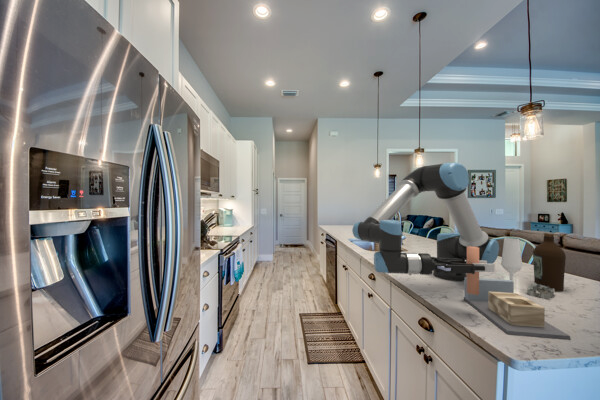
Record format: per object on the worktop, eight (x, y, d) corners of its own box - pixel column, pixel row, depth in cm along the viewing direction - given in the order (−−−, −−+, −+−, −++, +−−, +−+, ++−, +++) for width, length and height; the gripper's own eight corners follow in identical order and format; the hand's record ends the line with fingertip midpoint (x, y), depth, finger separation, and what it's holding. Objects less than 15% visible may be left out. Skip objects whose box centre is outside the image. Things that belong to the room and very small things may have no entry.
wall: (513, 302, 93) (513, 281, 93) (467, 299, 95) (467, 279, 95) (509, 300, 95) (509, 279, 95) (464, 297, 98) (464, 277, 98)
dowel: (466, 293, 86) (466, 247, 86) (467, 290, 88) (467, 246, 88) (478, 295, 83) (479, 248, 83) (479, 292, 86) (479, 247, 86)
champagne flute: (497, 294, 103) (497, 238, 104) (507, 292, 106) (507, 237, 106) (516, 300, 97) (516, 240, 97) (526, 298, 100) (526, 239, 100)
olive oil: (557, 285, 115) (557, 232, 115) (571, 293, 105) (571, 235, 106) (528, 282, 119) (528, 231, 120) (539, 289, 110) (539, 234, 110)
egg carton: (548, 300, 98) (548, 290, 98) (524, 294, 105) (524, 285, 105) (557, 295, 104) (557, 286, 104) (533, 290, 110) (533, 281, 110)
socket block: (544, 327, 74) (544, 307, 74) (511, 324, 76) (511, 305, 76) (516, 310, 86) (516, 293, 86) (488, 308, 88) (488, 291, 88)
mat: (570, 339, 70) (570, 336, 70) (507, 334, 73) (507, 330, 73) (508, 302, 96) (508, 299, 96) (463, 299, 98) (463, 297, 98)
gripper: (411, 267, 97) (476, 270, 93) (426, 281, 81) (506, 285, 77) (411, 248, 97) (476, 250, 93) (426, 258, 81) (505, 261, 77)
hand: (489, 266), depth 85 cm, fingers closed on dowel, 3 cm apart
